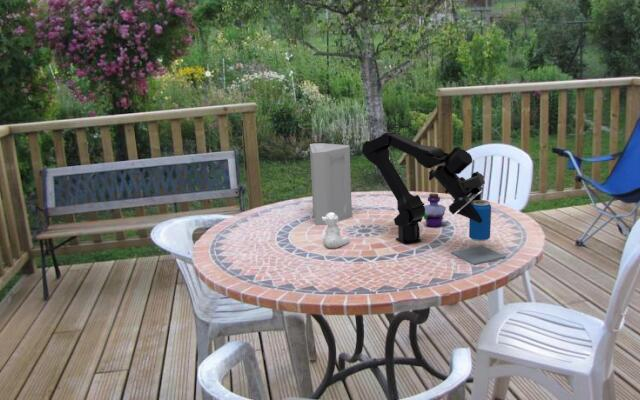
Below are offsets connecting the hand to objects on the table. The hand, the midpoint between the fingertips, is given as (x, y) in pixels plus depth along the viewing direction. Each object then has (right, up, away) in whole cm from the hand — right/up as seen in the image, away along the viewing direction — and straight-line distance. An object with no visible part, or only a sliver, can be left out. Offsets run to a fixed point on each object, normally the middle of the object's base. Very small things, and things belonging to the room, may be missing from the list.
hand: (484, 219), depth 199 cm
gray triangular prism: (-46, -1, +52) cm, 69 cm away
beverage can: (-1, -7, +2) cm, 7 cm away
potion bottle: (-9, -4, +35) cm, 37 cm away
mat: (-1, -12, +3) cm, 12 cm away
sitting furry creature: (-46, -10, +19) cm, 51 cm away
